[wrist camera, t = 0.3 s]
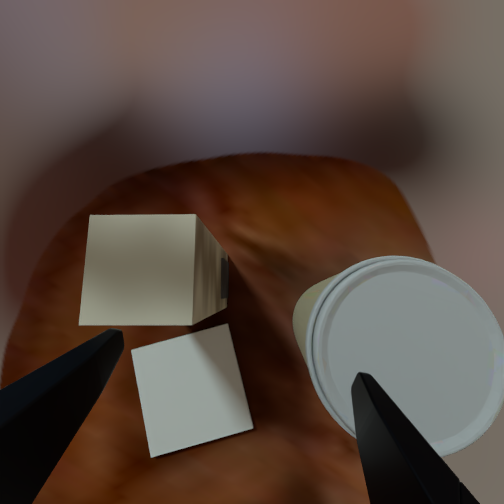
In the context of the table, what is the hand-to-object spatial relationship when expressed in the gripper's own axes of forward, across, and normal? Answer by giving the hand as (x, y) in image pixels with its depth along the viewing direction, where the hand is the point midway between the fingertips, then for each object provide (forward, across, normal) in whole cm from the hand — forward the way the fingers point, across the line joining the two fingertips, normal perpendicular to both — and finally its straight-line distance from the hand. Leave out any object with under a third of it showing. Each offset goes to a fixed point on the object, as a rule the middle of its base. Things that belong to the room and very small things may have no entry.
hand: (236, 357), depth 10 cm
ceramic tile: (+8, +4, +14) cm, 16 cm away
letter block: (+13, +5, +6) cm, 15 cm away
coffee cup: (+12, -8, +8) cm, 17 cm away
